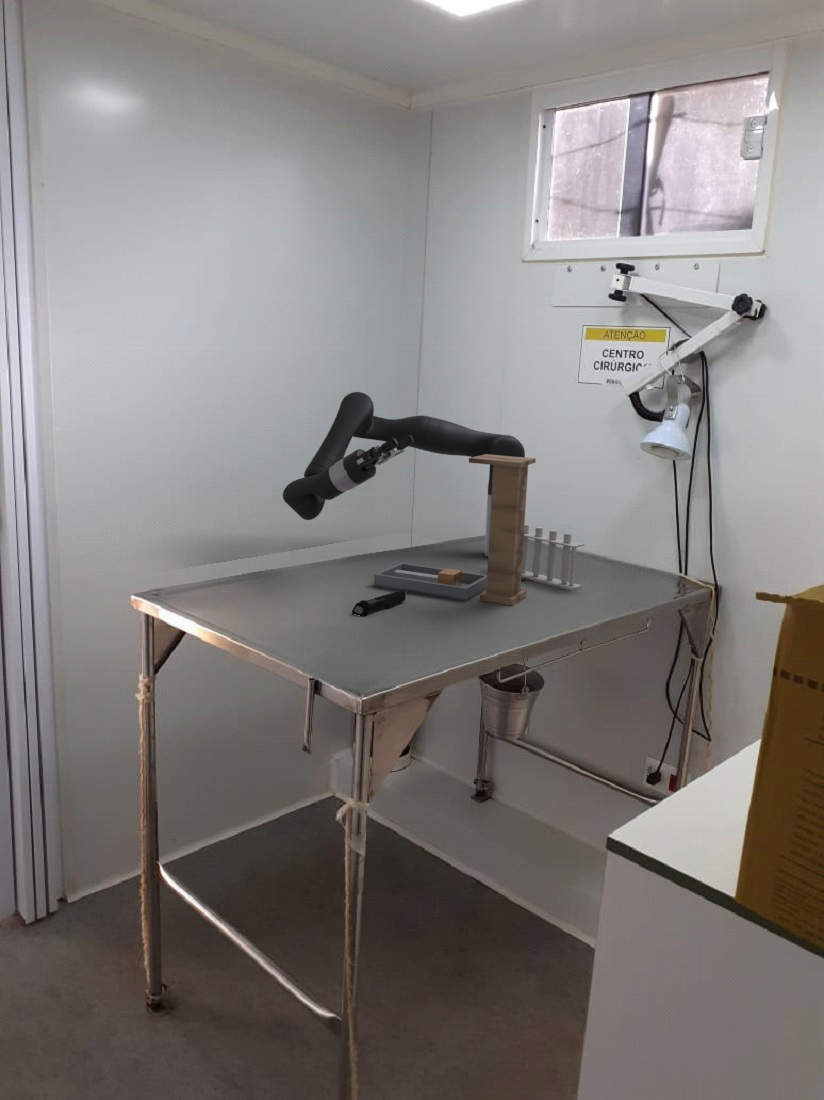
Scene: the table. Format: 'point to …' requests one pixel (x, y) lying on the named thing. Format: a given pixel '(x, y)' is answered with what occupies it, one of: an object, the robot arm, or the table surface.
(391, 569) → the parts tray
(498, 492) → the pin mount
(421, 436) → the robot arm
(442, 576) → the lock pin
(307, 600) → the table surface
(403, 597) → the electric trimmer
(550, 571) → the test tube rack
